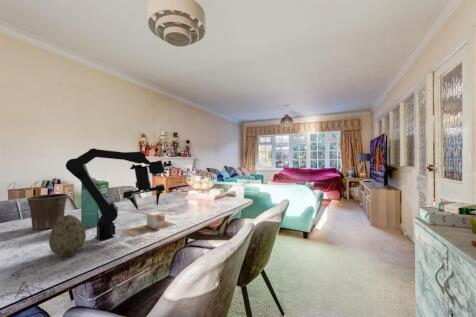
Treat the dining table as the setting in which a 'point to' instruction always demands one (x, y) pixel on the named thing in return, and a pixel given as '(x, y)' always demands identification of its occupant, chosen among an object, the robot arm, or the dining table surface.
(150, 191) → the robot arm
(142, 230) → the walnut stand
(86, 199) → the milk carton
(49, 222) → the plant pot
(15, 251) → the dining table surface
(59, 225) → the decorative egg
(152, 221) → the white rectangular block
